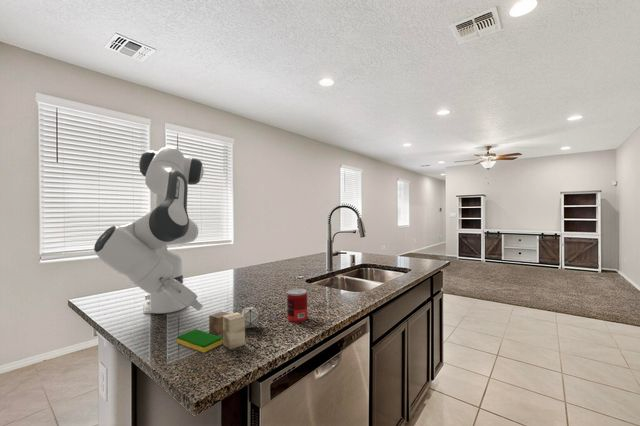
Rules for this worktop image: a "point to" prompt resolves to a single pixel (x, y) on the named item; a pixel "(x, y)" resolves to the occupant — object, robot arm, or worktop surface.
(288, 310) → the canned food
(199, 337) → the dish sponge
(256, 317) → the game die
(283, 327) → the worktop surface
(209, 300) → the worktop surface
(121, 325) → the worktop surface
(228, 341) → the maple block
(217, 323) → the walnut block
